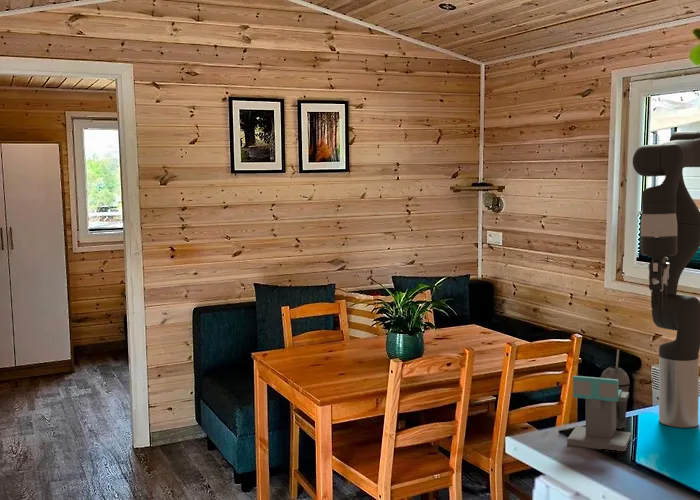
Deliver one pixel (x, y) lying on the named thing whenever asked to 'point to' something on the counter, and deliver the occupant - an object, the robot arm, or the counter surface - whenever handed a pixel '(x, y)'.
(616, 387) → the teal c-shaped bracket
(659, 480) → the counter surface
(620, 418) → the beverage cup
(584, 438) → the stand
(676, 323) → the robot arm
